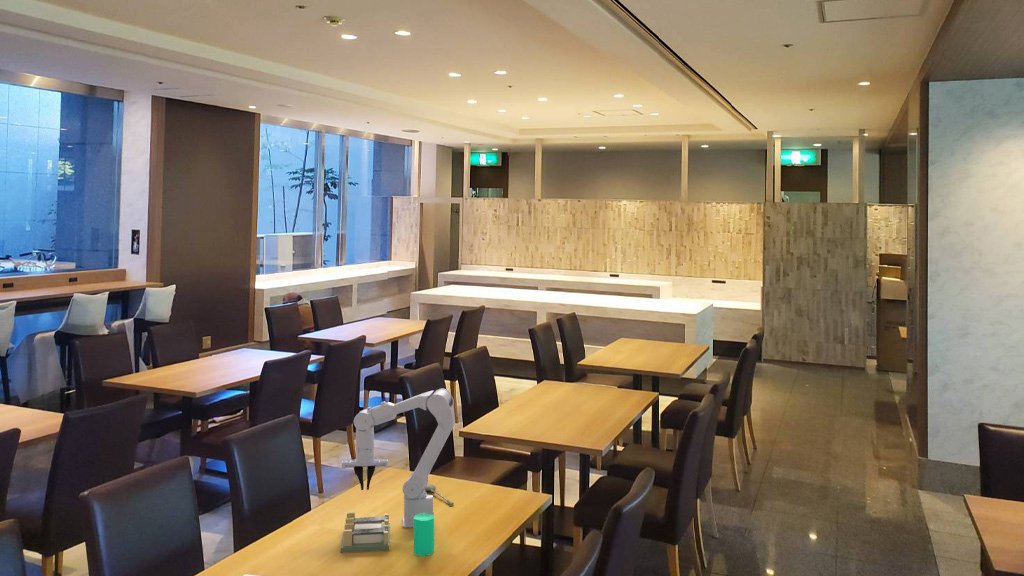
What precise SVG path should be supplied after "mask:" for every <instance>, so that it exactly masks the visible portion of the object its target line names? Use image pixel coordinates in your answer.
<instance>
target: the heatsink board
mask: <svg viewBox="0 0 1024 576" xmlns="http://www.w3.org/2000/svg"><path fill="white" fill-rule="evenodd" d="M384 516H388V519H385V520H384V522H373V523H357V524H354V518H356V511H347V512H346V517H345V523H344V527H343V532H342V539H341V544H340V554H346V553H349V554H350V553H365V552H366V553H367V552H385V551H390V545H391V544H390V543H391V542H390V540H391V539H390V538H391V523H390V520H389V519H390V518H389V516H390V514H389V513H384ZM384 527H387V528H388V529H387V531H384V533H383V534H369V535H354V536H352V530H355V529H370V528H384Z"/></svg>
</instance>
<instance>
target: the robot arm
mask: <svg viewBox="0 0 1024 576" xmlns="http://www.w3.org/2000/svg"><path fill="white" fill-rule="evenodd" d="M418 408H419V409H421V410H424V411H427V410H428V411H429V412H430V414H432V416H434V418H435V420H436V422H437V426H436V428H435V431H434V432H433V434H432V436H431V439H430V440H429V442H428V444H427V446H426V447H425V450H424V452H423V454H422V455H421V457H420V460H419V461H418V463H417V466H416V467H415V470H414V471H413V472H412V473H411V474H410V475H409V476H408V479H407V480H406V481H405V482H404V483H403V484H402V493H403V517H402V528H404V529H405V528H414V517H415V516H416V515H418V514H422V513H427V514H430V515H434V516H435V513H434V495H433V494H427V490H425V487H426V486H427V484H429V483H428V482H429V475H430V474H431V471H432V469H433V467H434V465H435V464H436V462H437V459H438V457H439V455H440V453H441V451H443V447H444V446H445V444H446V441H447V439H448V438H449V436H450V434H451V432H452V431H453V428H454V427H455V424H456V416H455V400H454V398H453V395H452V394H451V392H450V391H449V390H447V389H446V388H439V389H438V388H437V389H436V390H430V391H426V392H422V393H421V394H420V393H419V394H417V395H415V396H412V397H410V398H407V399H405V400H402V401H399V402H397V403H393V402H390V401H388V402H387V401H385V400H384V401H381V402H380V405H376V406H373V407H372V406H369V407H367V408H365V409H362V410H361V411H359V412H358V413H357V414H356V415H355V416H354V418H353V425H354V427H355V459H348V460H342V461H341V469H347V468H354V472H355V475H356V476H357V479H358V481H359V484H360V491H364V487H365V484H364V468H366V478H367V479H366V490H367V491H369V490H370V484H371V480H372V478H373V476H374V473H375V471H376V467H378V468H379V467H384V468H388V467H389V459H388V458H387V459H383V458H382V459H381V458H375V430H374V428H375V427H374V426H378V425H382V424H384V423H386V422H390V421H392V420H395V419H396V417H397V415H398V414H401V413H405V412H408V411H412V410H414V409H418Z"/></svg>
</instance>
